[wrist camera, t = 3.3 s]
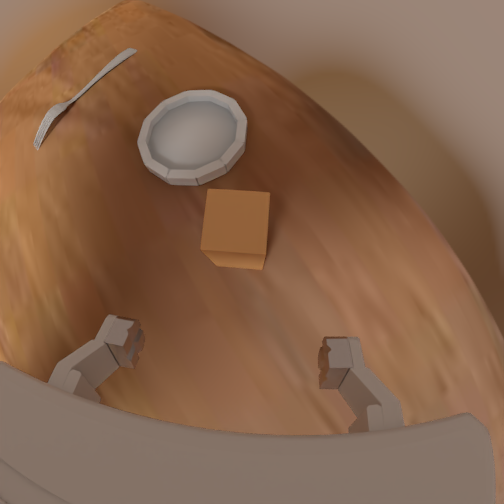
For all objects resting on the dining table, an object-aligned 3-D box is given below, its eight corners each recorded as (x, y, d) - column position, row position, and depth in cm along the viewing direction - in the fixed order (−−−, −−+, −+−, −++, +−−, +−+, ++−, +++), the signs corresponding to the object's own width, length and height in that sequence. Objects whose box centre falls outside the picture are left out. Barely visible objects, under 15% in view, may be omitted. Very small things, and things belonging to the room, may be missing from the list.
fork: (144, 62, 33) (141, 48, 31) (37, 155, 28) (27, 145, 26) (134, 57, 34) (130, 45, 31) (31, 148, 29) (21, 137, 26)
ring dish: (133, 184, 27) (127, 178, 25) (156, 101, 29) (153, 92, 27) (241, 187, 26) (240, 180, 25) (250, 99, 28) (250, 90, 27)
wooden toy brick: (217, 266, 25) (200, 249, 17) (221, 222, 26) (207, 188, 18) (262, 269, 25) (265, 254, 17) (265, 225, 26) (270, 192, 18)
